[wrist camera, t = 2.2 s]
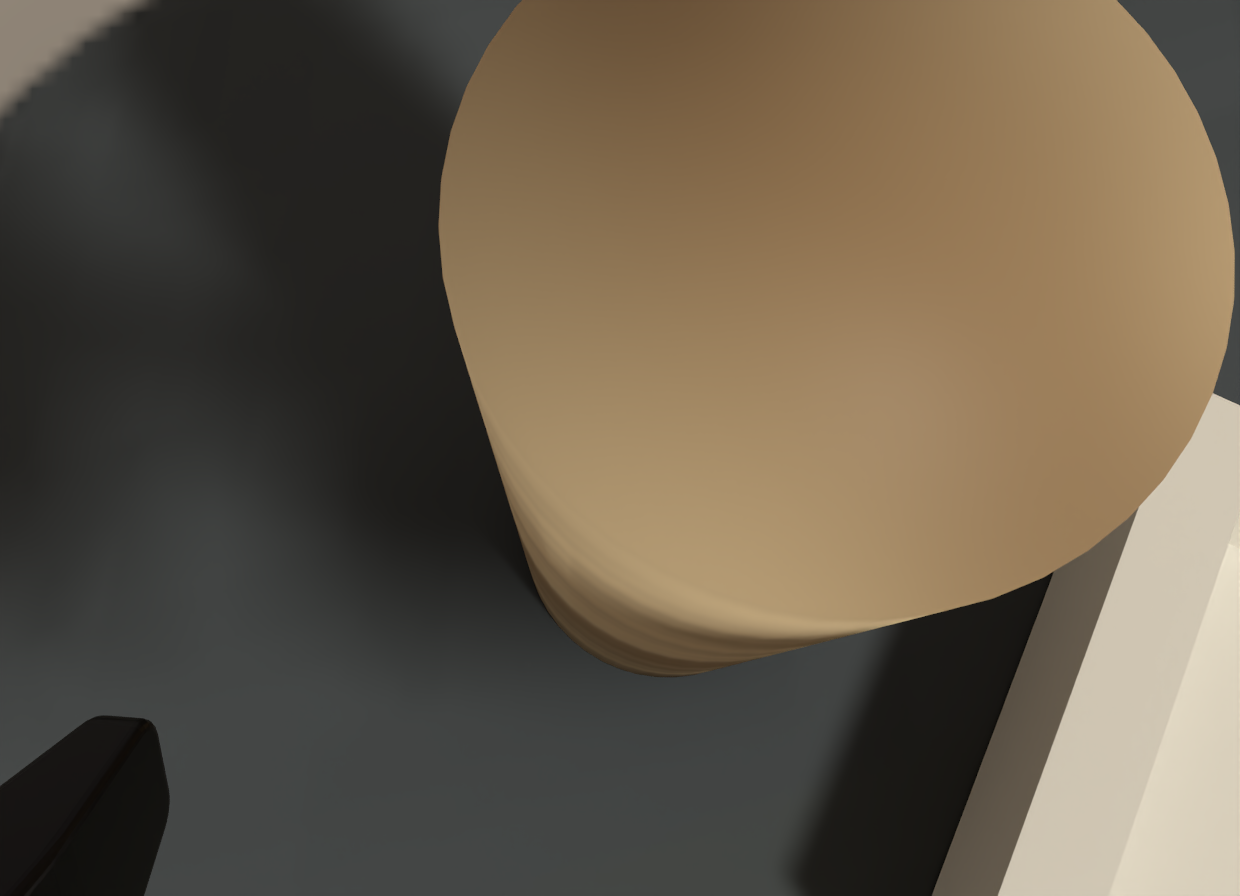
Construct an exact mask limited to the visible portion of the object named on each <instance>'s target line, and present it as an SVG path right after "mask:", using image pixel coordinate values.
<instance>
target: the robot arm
mask: <svg viewBox="0 0 1240 896" xmlns="http://www.w3.org/2000/svg"><path fill="white" fill-rule="evenodd" d="M169 804H170V796H169V788H168V783H167V778H166V773H165V768H164V763H163V758H162V753H161V748H160V742H159V737H158V733H157V730H156V727H155V726H154V725H153V723H152V722H150V721H149V720H146V719H144V718H132V717H119V716H97V717H94V718H92V719H90V720H87V721H86V722H84V723H83V724H82V725H80V726H79V727H78V728H76V729H75V730H74V731H72V732H71V733H70V734H68V735H67V736H66V737H64V738H63V739H62V740H60V741H59V742H58V743H56V744H55V745H54V746H53V747H51V748H50V749H49V750H47V751H46V752H45V753H43V754H42V755H41V756H39V757H38V758H37V759H35V760H34V761H33V762H31V763H30V764H29V765H27V766H26V767H25V768H24V769H22V770H21V771H20V772H18V773H17V774H16V775H14V776H13V777H12V778H10V779H9V780H8V781H6V782H5V783H4V784H2V785H1V786H0V896H144V894H145V891H146V888H147V884H148V881H149V878H150V875H151V872H152V868H153V865H154V862H155V859H156V856H157V852H158V849H159V846H160V843H161V840H162V836H163V833H164V830H165V827H166V823H167V818H168V813H169Z"/></svg>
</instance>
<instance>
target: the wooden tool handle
mask: <svg viewBox="0 0 1240 896" xmlns="http://www.w3.org/2000/svg"><path fill="white" fill-rule="evenodd" d="M439 239H440V250H441V262H442V273H443V280H444V284H445V289H446V293H447V297H448V302H449V306H450V310H451V315H452V319H453V323H454V327H455V331H456V334H457V337H458V340H459V344H460V347H461V350H462V353H463V356H464V360H465V363H466V366H467V369H468V372H469V376H470V379H471V382H472V385H473V389H474V392H475V395H476V398H477V401H478V405H479V408H480V411H481V414H482V418H483V421H484V424H485V427H486V430H487V434H488V437H489V440H490V443H491V447H492V450H493V453H494V456H495V459H496V463H497V466H498V469H499V472H500V475H501V479H502V482H503V485H504V488H505V492H506V495H507V498H508V501H509V504H510V508H511V511H512V514H513V517H514V521H515V524H516V527H517V530H518V533H519V537H520V540H521V543H522V546H523V550H524V553H525V556H526V559H527V562H528V566H529V569H530V572H531V575H532V578H533V581H534V583H535V586H536V589H537V591H538V594H539V596H540V598H541V600H542V602H543V603H544V605H545V607H546V609H547V611H548V612H549V614H550V615H551V616H552V618H553V619H554V620H555V622H556V623H557V625H558V626H559V627H560V628H561V629H562V630H563V631H564V632H565V633H566V634H567V635H568V636H569V638H570V639H571V640H573V641H574V642H575V643H576V644H578V645H579V646H580V647H581V648H582V649H584V650H585V651H586V652H588V653H590V654H591V655H593V656H594V657H596V658H598V659H599V660H601V661H603V662H605V663H607V664H610V665H612V666H614V667H616V668H619V669H622V670H625V671H629V672H632V673H636V674H640V675H647V676H654V677H681V676H689V675H695V674H699V673H703V672H707V671H711V670H715V669H719V668H723V667H727V666H731V665H735V664H739V663H742V662H746V661H750V660H754V659H758V658H762V657H766V656H770V655H774V654H778V653H782V652H786V651H790V650H794V649H798V648H801V647H805V646H809V645H813V644H817V643H821V642H825V641H829V640H833V639H837V638H841V637H845V636H849V635H853V634H856V633H860V632H864V631H868V630H872V629H876V628H880V627H884V626H888V625H892V624H896V623H900V622H904V621H908V620H911V619H915V618H919V617H923V616H927V615H931V614H935V613H939V612H943V611H947V610H951V609H954V608H958V607H962V606H966V605H970V604H974V603H977V602H981V601H985V600H989V599H993V598H995V597H998V596H1000V595H1003V594H1005V593H1007V592H1010V591H1012V590H1015V589H1017V588H1019V587H1022V586H1024V585H1027V584H1029V583H1031V582H1034V581H1036V580H1039V579H1041V578H1043V577H1045V576H1047V575H1048V574H1050V573H1052V572H1053V571H1055V570H1057V569H1058V568H1060V567H1062V566H1063V565H1065V564H1067V563H1069V562H1070V561H1072V560H1074V559H1075V558H1077V557H1079V556H1080V555H1082V554H1084V553H1085V552H1087V551H1089V550H1090V549H1091V548H1092V547H1094V546H1095V545H1096V544H1097V543H1098V542H1100V541H1101V540H1102V539H1103V538H1105V537H1106V536H1107V535H1108V534H1110V533H1111V532H1112V531H1113V530H1114V529H1116V528H1117V527H1118V526H1119V525H1121V524H1122V523H1123V522H1124V521H1126V520H1127V519H1128V518H1129V517H1130V516H1131V515H1132V514H1133V513H1134V512H1135V511H1136V509H1137V508H1138V507H1139V506H1140V505H1141V504H1142V503H1143V502H1144V501H1145V500H1146V499H1147V497H1148V496H1149V495H1150V494H1151V493H1152V492H1153V491H1154V490H1155V489H1156V488H1157V486H1158V485H1159V484H1160V483H1161V482H1162V481H1163V480H1164V478H1165V477H1166V475H1167V474H1168V472H1169V471H1170V469H1171V468H1172V466H1173V465H1174V463H1175V462H1176V460H1177V459H1178V458H1179V456H1180V455H1181V453H1182V452H1183V450H1184V449H1185V447H1186V446H1187V444H1188V443H1189V441H1190V440H1191V438H1192V436H1193V434H1194V432H1195V430H1196V427H1197V425H1198V423H1199V421H1200V419H1201V417H1202V415H1203V413H1204V411H1205V409H1206V406H1207V404H1208V402H1209V400H1210V398H1211V396H1212V394H1213V390H1214V387H1215V384H1216V381H1217V377H1218V374H1219V371H1220V368H1221V364H1222V361H1223V358H1224V355H1225V351H1226V348H1227V342H1228V335H1229V329H1230V322H1231V316H1232V309H1233V303H1234V253H1235V252H1234V244H1233V236H1232V228H1231V220H1230V212H1229V204H1228V200H1227V196H1226V193H1225V189H1224V185H1223V181H1222V178H1221V174H1220V170H1219V166H1218V163H1217V159H1216V156H1215V153H1214V151H1213V148H1212V146H1211V144H1210V141H1209V139H1208V136H1207V134H1206V131H1205V129H1204V126H1203V124H1202V122H1201V119H1200V117H1199V114H1198V112H1197V110H1196V108H1195V107H1194V105H1193V103H1192V101H1191V100H1190V98H1189V96H1188V94H1187V92H1186V91H1185V89H1184V87H1183V85H1182V84H1181V82H1180V80H1179V78H1178V76H1177V75H1176V73H1175V71H1174V70H1173V68H1172V67H1171V66H1170V64H1169V63H1168V61H1167V60H1166V59H1165V57H1164V56H1163V55H1162V53H1161V52H1160V51H1159V49H1158V48H1157V46H1156V45H1155V44H1154V42H1153V41H1152V40H1151V38H1150V37H1149V36H1148V34H1147V33H1146V32H1145V30H1144V29H1143V28H1142V27H1141V26H1140V25H1139V24H1138V23H1137V22H1136V21H1135V20H1134V19H1133V18H1132V16H1131V15H1130V14H1129V13H1128V12H1127V11H1126V10H1125V9H1124V8H1123V7H1122V6H1121V5H1120V4H1119V3H1118V1H1117V0H522V1H521V2H520V3H519V4H518V5H517V6H516V7H515V9H514V10H513V12H512V13H511V14H510V16H509V17H508V19H507V20H506V21H505V23H504V24H503V26H502V27H501V28H500V30H499V31H498V33H497V34H496V35H495V37H494V38H493V40H492V41H491V42H490V44H489V45H488V47H487V49H486V51H485V53H484V55H483V57H482V58H481V60H480V62H479V64H478V66H477V68H476V70H475V72H474V74H473V76H472V78H471V79H470V81H469V83H468V85H467V87H466V90H465V93H464V96H463V98H462V101H461V104H460V107H459V110H458V113H457V115H456V118H455V121H454V124H453V127H452V129H451V133H450V138H449V143H448V148H447V153H446V158H445V163H444V168H443V173H442V178H441V193H440V210H439Z"/></svg>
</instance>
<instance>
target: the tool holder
mask: <svg viewBox="0 0 1240 896" xmlns="http://www.w3.org/2000/svg"><path fill="white" fill-rule="evenodd" d="M932 896H1240V405H1237V404H1235V403H1233V402H1231V401H1229V400H1226V399H1224V398H1222V397H1220V396H1218V395H1215V394H1212V396H1211V398H1210V400H1209V402H1208V404H1207V406H1206V409H1205V411H1204V413H1203V415H1202V417H1201V419H1200V421H1199V423H1198V425H1197V427H1196V430H1195V432H1194V434H1193V436H1192V438H1191V440H1190V441H1189V443H1188V444H1187V446H1186V447H1185V449H1184V450H1183V452H1182V453H1181V455H1180V456H1179V458H1178V459H1177V460H1176V462H1175V463H1174V465H1173V466H1172V468H1171V469H1170V471H1169V472H1168V474H1167V475H1166V477H1165V478H1164V480H1163V481H1162V482H1161V483H1160V484H1159V485H1158V486H1157V488H1156V489H1155V490H1154V491H1153V492H1152V493H1151V494H1150V495H1149V496H1148V497H1147V499H1146V500H1145V501H1144V502H1143V503H1142V504H1141V505H1140V506H1139V507H1138V508H1137V509H1136V511H1135V512H1134V513H1133V514H1132V515H1131V516H1130V517H1129V518H1128V519H1127V520H1126V521H1124V522H1123V523H1122V524H1121V525H1119V526H1118V527H1117V528H1116V529H1114V530H1113V531H1112V532H1111V533H1110V534H1108V535H1107V536H1106V537H1105V538H1103V539H1102V540H1101V541H1100V542H1098V543H1097V544H1096V545H1095V546H1094V547H1092V548H1091V549H1090V550H1089V551H1087V552H1085V553H1084V554H1082V555H1080V556H1079V557H1077V558H1075V559H1074V560H1072V561H1070V562H1069V563H1067V564H1065V565H1063V566H1062V567H1060V568H1058V569H1057V570H1055V571H1054V573H1053V575H1052V578H1051V581H1050V583H1049V586H1048V589H1047V591H1046V594H1045V597H1044V599H1043V602H1042V605H1041V607H1040V610H1039V613H1038V615H1037V618H1036V621H1035V623H1034V626H1033V628H1032V631H1031V634H1030V636H1029V639H1028V642H1027V644H1026V647H1025V650H1024V652H1023V655H1022V658H1021V660H1020V663H1019V666H1018V668H1017V671H1016V674H1015V676H1014V679H1013V681H1012V684H1011V687H1010V689H1009V692H1008V695H1007V697H1006V700H1005V703H1004V705H1003V708H1002V711H1001V713H1000V716H999V719H998V721H997V724H996V727H995V729H994V732H993V734H992V737H991V740H990V742H989V745H988V748H987V750H986V753H985V756H984V758H983V761H982V764H981V766H980V769H979V772H978V774H977V777H976V780H975V782H974V785H973V788H972V790H971V793H970V795H969V798H968V801H967V803H966V806H965V809H964V811H963V814H962V817H961V819H960V822H959V825H958V827H957V830H956V833H955V835H954V838H953V841H952V843H951V846H950V848H949V851H948V854H947V856H946V859H945V862H944V864H943V867H942V870H941V872H940V875H939V878H938V880H937V883H936V886H935V888H934V891H933V894H932Z"/></svg>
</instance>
